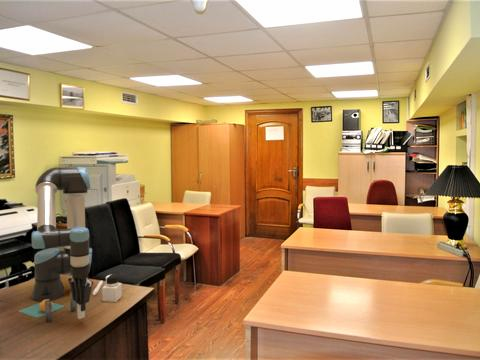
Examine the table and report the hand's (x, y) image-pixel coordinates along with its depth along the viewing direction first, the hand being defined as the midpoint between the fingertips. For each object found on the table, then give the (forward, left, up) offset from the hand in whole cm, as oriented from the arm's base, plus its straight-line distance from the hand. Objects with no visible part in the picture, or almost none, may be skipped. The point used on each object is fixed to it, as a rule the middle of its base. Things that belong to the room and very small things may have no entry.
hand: (81, 317), depth 167 cm
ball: (-23, -1, +1) cm, 23 cm away
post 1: (-13, -6, -2) cm, 14 cm away
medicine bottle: (-8, +25, -2) cm, 26 cm away
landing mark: (-27, 0, -2) cm, 27 cm away
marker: (-24, +30, -3) cm, 38 cm away
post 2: (-13, +6, -2) cm, 14 cm away
